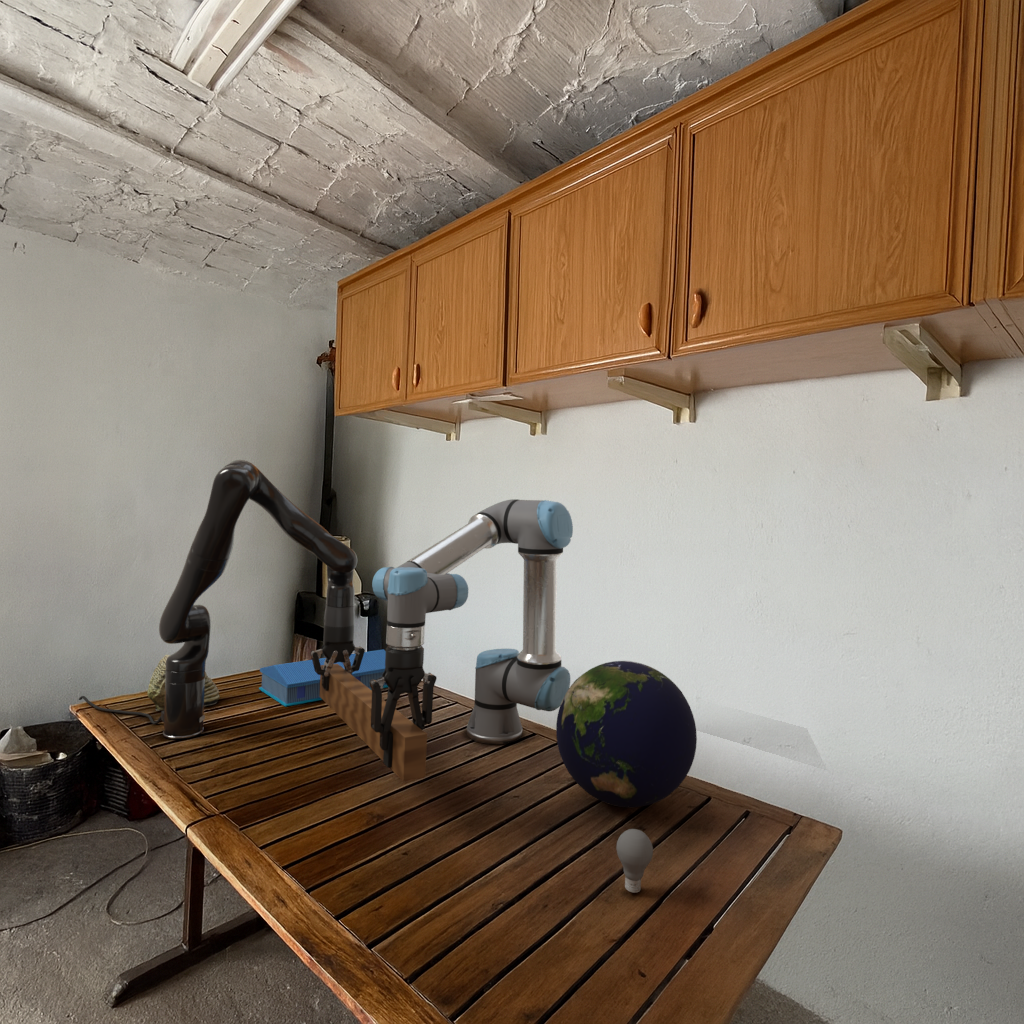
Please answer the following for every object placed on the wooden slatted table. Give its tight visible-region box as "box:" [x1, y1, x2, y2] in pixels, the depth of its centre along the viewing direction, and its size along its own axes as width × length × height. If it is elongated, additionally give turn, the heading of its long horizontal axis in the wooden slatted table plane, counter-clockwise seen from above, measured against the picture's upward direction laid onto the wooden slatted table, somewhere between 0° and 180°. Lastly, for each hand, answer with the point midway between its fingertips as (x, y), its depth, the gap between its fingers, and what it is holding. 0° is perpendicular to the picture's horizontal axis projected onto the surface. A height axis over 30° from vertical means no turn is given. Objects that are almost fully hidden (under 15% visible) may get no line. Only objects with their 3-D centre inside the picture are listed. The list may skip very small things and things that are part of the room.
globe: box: [555, 660, 698, 809], centre depth 138 cm, size 30×30×30 cm
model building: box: [258, 649, 389, 707], centre depth 208 cm, size 39×24×10 cm, turn 132°
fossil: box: [147, 654, 221, 712], centre depth 185 cm, size 9×18×15 cm, turn 132°
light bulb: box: [615, 828, 654, 894], centre depth 106 cm, size 6×6×10 cm
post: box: [319, 664, 428, 782], centre depth 145 cm, size 59×4×8 cm, turn 32°
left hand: (336, 688), depth 163 cm, fingers closed on post, 4 cm apart
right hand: (400, 762), depth 126 cm, fingers closed on post, 5 cm apart
